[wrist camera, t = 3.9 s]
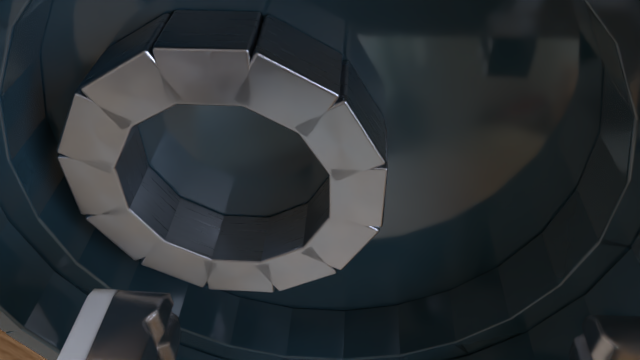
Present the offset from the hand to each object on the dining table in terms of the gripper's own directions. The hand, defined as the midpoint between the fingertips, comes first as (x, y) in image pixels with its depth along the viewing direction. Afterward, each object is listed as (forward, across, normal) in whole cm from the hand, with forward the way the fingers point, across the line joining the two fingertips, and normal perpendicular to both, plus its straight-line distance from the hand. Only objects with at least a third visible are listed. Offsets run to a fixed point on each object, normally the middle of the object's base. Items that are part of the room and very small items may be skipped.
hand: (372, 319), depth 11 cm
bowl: (+6, +2, 0) cm, 6 cm away
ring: (+5, +4, 0) cm, 6 cm away
